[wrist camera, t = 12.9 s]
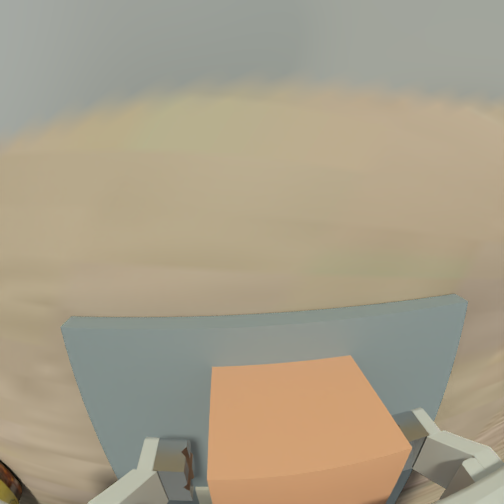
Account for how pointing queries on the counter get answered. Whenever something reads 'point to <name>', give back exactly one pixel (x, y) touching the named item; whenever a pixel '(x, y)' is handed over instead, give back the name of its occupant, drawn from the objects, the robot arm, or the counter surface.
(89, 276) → the counter surface
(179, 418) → the build board
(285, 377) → the terracotta block
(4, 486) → the sauce bottle
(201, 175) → the counter surface
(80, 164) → the counter surface
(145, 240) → the counter surface
